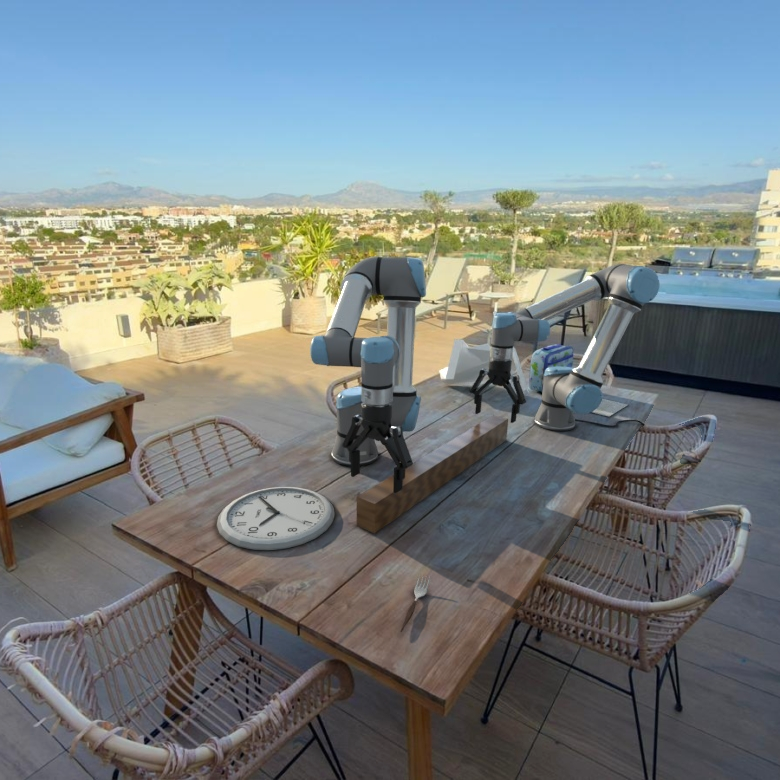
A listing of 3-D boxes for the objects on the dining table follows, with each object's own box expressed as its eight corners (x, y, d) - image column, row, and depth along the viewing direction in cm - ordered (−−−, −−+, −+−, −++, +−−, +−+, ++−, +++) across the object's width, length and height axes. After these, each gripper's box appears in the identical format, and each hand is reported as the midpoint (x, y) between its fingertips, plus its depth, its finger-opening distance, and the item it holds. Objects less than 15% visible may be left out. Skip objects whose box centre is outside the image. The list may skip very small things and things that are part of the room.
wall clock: (333, 542, 123) (202, 546, 121) (333, 547, 124) (203, 552, 121) (335, 482, 152) (229, 485, 149) (335, 487, 152) (230, 490, 150)
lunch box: (545, 397, 238) (550, 352, 231) (524, 391, 245) (529, 348, 239) (572, 386, 255) (578, 344, 249) (552, 381, 262) (557, 340, 256)
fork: (394, 632, 98) (394, 623, 98) (419, 581, 113) (419, 573, 112) (407, 636, 97) (407, 627, 97) (430, 584, 112) (431, 576, 111)
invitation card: (608, 416, 214) (573, 407, 224) (608, 416, 214) (573, 408, 224) (628, 404, 229) (594, 396, 238) (628, 405, 229) (594, 397, 238)
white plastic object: (461, 429, 252) (437, 405, 227) (444, 352, 274) (420, 323, 250) (535, 404, 240) (518, 377, 215) (510, 326, 262) (492, 293, 237)
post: (491, 436, 192) (493, 415, 190) (506, 440, 189) (508, 418, 186) (356, 525, 133) (356, 496, 131) (374, 533, 130) (374, 503, 127)
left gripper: (327, 395, 129) (329, 473, 136) (410, 418, 115) (408, 504, 121) (347, 389, 135) (348, 463, 141) (429, 409, 121) (425, 491, 127)
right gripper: (463, 354, 182) (458, 412, 189) (531, 367, 168) (524, 428, 174) (473, 351, 188) (468, 406, 194) (540, 363, 174) (533, 422, 180)
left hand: (376, 482), depth 131 cm, fingers open, 13 cm apart
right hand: (495, 417), depth 184 cm, fingers open, 13 cm apart
